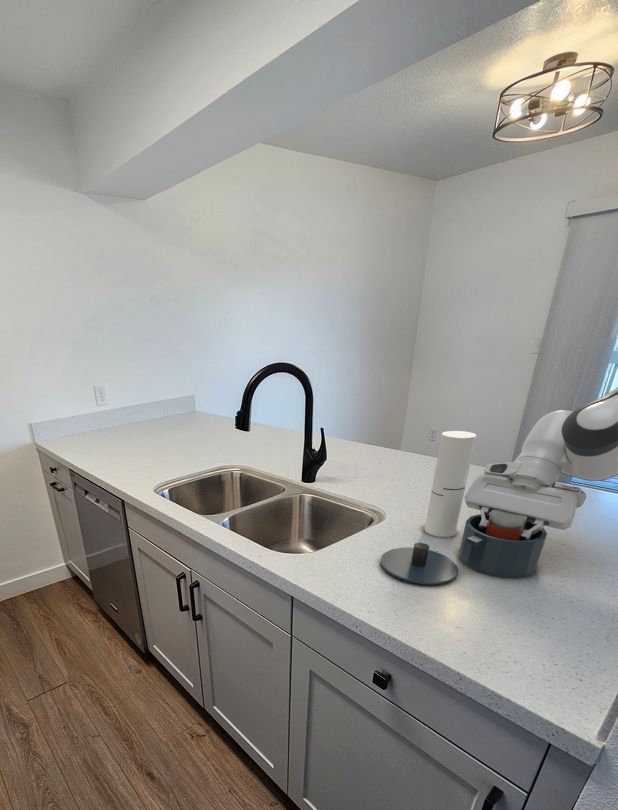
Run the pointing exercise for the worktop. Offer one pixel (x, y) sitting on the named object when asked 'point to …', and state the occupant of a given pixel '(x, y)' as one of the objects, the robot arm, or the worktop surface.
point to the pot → (500, 551)
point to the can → (506, 525)
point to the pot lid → (419, 565)
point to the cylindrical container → (449, 482)
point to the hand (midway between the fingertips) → (502, 533)
